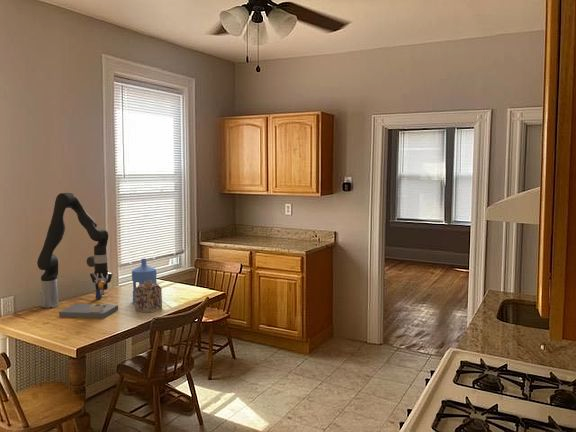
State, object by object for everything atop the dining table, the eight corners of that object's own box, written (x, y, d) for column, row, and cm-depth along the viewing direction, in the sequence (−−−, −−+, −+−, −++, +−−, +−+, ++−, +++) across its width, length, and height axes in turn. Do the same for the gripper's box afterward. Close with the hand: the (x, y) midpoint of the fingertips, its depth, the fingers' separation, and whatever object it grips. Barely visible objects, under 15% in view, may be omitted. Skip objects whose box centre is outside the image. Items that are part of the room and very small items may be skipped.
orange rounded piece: (97, 295, 307) (96, 282, 306) (101, 293, 310) (100, 280, 310) (103, 295, 306) (102, 282, 305) (106, 293, 310) (106, 281, 309)
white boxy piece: (89, 312, 297) (89, 306, 296) (94, 309, 302) (93, 303, 301) (99, 312, 296) (99, 306, 296) (103, 310, 301) (103, 304, 300)
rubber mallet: (95, 302, 331) (93, 256, 328) (87, 300, 334) (85, 255, 331) (110, 297, 342) (108, 253, 339) (102, 296, 345) (100, 253, 342)
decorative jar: (162, 308, 314) (161, 280, 312) (149, 313, 304) (148, 284, 302) (148, 306, 319) (147, 278, 318) (134, 311, 309) (133, 282, 307)
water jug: (154, 296, 343) (153, 256, 340) (159, 302, 329) (158, 260, 326) (131, 299, 336) (129, 258, 334) (134, 305, 322) (133, 262, 320)
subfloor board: (59, 316, 298) (58, 311, 298) (75, 308, 316) (75, 303, 315) (103, 318, 294) (103, 313, 294) (118, 309, 312) (118, 305, 312)
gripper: (86, 262, 303) (87, 290, 305) (108, 263, 302) (110, 291, 303) (92, 260, 311) (94, 287, 312) (114, 260, 309) (115, 288, 311)
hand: (101, 289), depth 308 cm, fingers closed on orange rounded piece, 4 cm apart
